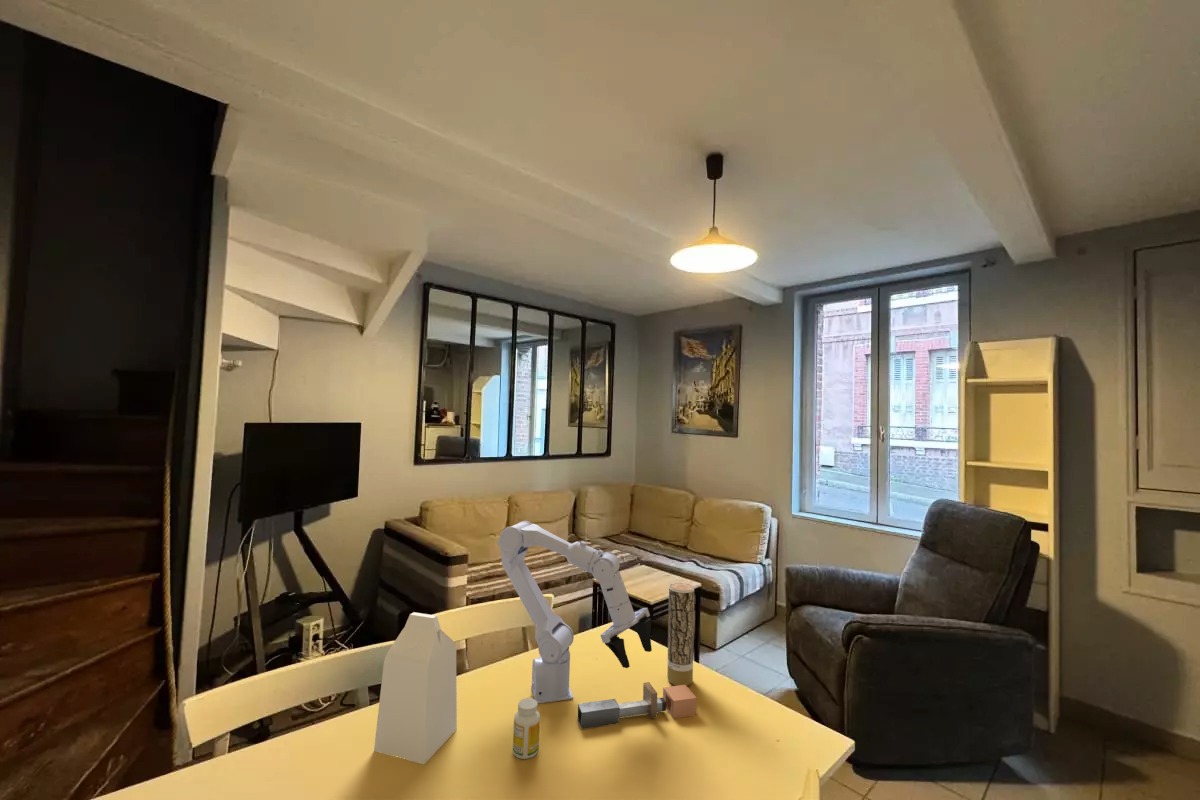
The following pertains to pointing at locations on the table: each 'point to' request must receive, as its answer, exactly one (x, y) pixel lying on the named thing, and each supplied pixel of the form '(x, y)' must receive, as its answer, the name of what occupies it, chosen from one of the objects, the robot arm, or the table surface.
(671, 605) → the brown cylindrical piece
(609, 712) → the sleeve
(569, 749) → the table surface
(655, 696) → the tube
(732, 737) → the table surface
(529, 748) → the supplement bottle
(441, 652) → the milk
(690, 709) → the socket block
